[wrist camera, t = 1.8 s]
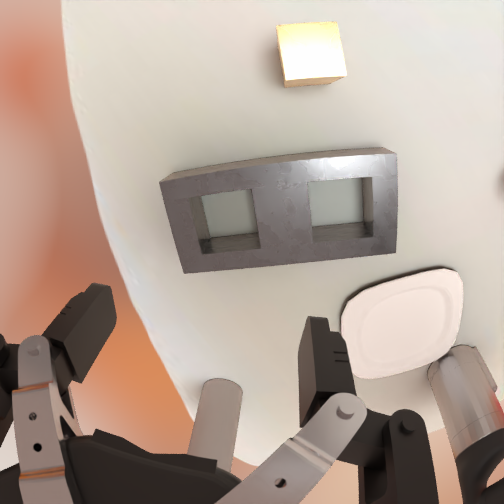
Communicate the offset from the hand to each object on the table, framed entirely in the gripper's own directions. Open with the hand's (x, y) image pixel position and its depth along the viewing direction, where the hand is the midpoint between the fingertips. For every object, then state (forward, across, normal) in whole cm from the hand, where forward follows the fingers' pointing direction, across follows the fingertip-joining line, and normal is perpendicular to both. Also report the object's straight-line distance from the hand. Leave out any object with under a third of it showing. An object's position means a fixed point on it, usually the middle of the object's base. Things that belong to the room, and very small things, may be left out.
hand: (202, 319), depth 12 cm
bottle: (+21, +1, +34) cm, 40 cm away
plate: (+22, -23, +16) cm, 36 cm away
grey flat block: (+21, -4, +2) cm, 22 cm away
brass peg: (+22, -4, -13) cm, 25 cm away
